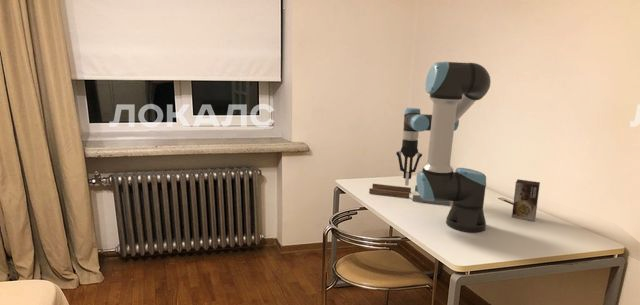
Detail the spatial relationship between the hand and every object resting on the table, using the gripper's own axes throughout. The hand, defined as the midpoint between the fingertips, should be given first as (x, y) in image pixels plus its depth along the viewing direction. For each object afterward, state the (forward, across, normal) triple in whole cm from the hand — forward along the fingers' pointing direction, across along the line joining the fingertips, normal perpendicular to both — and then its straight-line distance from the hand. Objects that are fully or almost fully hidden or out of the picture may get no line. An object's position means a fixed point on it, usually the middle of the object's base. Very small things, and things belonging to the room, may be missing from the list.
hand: (406, 184), depth 198 cm
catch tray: (+5, -12, 0) cm, 13 cm away
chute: (+5, +8, 0) cm, 10 cm away
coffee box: (+5, -52, +14) cm, 54 cm away
